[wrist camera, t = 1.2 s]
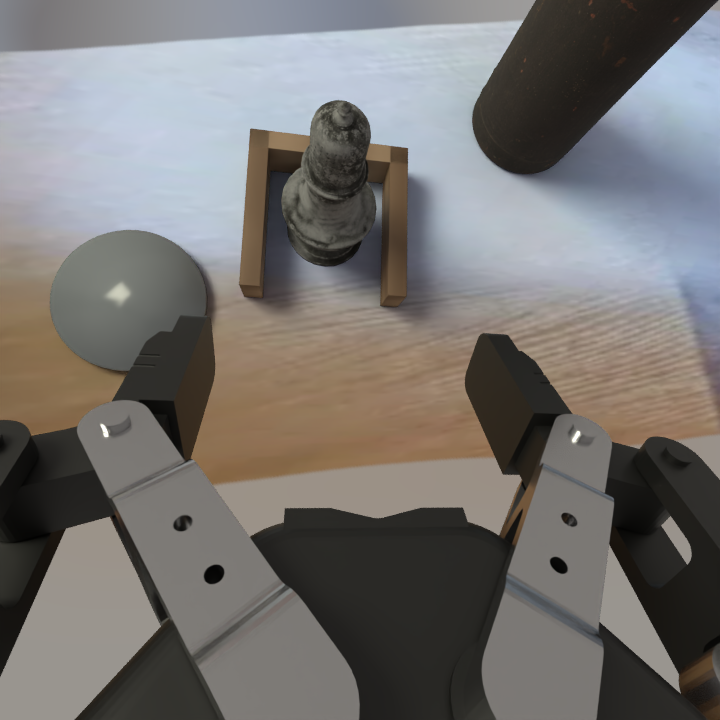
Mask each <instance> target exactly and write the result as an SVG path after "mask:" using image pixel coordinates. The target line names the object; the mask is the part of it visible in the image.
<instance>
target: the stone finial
mask: <svg viewBox="0 0 720 720" xmlns="http://www.w3.org/2000/svg"><path fill="white" fill-rule="evenodd" d="M370 138H371V131H370V125H369V122H368V120H367V118H366V116H365V115H364V114H363V112H362V111H361V110H360V109H359V108H357V107H356V106H355V105H353V104H351V103H349V102H347V101H339V100H336V101H331V102H328V103H326V104H324V105H322V106H321V107H320V108H319V109H318V110H317V111H316V113H315V115H314V117H313V119H312V122H311V128H310V145H309V146H308V147H307V148H306V150H305V152H304V154H303V156H302V162H301V168H299V169H297V170H296V171H295V172H294V173H293V174H292V175H291V176H290V177H289V179H288V181H287V183H286V185H285V186H284V188H283V193H282V198H281V203H282V213H283V216H284V218H285V221H286V223H287V229H288V237H289V240H290V242H291V245H292V247H293V248H294V249H295V251H296V252H297V253H298V254H299V255H300V256H301V257H302V258H304V259H305V260H307V261H309V262H311V263H313V264H316V265H321V266H335V265H338V264H341V263H344V262H345V261H347V260H349V259H350V258H352V256H353V255H354V254H355V253H356V252H357V251H358V249H359V246H360V244H361V242H362V239H363V238H364V237H365V236H366V235H367V234H368V232H369V231H370V229H371V227H372V225H373V223H374V221H375V215H376V201H375V196H374V194H373V191H372V189H371V186H370V185H369V184H368V182H367V180H368V174H369V169H368V162H367V160H366V156H367V152H368V148H369V144H370Z"/></svg>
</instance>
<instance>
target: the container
mask: <svg viewBox="0 0 720 720" xmlns="http://www.w3.org/2000/svg"><path fill="white" fill-rule="evenodd" d="M717 1H718V0H536V1H535V3H534V5H533V6H532V8H531V10H530V11H529V13H528V15H527V17H526V18H525V20H524V21H523V23H522V25H521V26H520V28H519V30H518V31H517V33H516V35H515V37H514V38H513V40H512V42H511V43H510V45H509V47H508V48H507V50H506V52H505V53H504V55H503V57H502V58H501V60H500V62H499V63H498V65H497V67H496V68H495V69H494V71H493V73H492V75H491V77H490V78H489V80H488V82H487V84H486V85H485V87H484V88H483V89H482V92H481V94H480V96H479V98H478V100H477V102H476V104H475V106H474V110H473V117H472V123H473V130H474V134H475V137H476V139H477V142H478V144H479V146H480V147H481V149H482V150H483V152H484V153H485V154H486V155H487V156H488V157H489V158H490V159H491V160H492V161H493V162H495V163H496V164H497V165H499V166H500V167H502V168H504V169H506V170H509V171H512V172H515V173H522V174H532V173H538V172H541V171H544V170H546V169H548V168H550V167H552V166H553V165H555V164H556V163H557V162H558V161H559V160H560V159H561V158H562V157H563V156H564V155H565V154H567V153H568V152H569V151H570V150H571V149H572V148H573V147H574V146H575V145H576V143H577V142H578V141H579V140H580V139H581V138H582V137H583V136H584V135H585V134H586V133H587V132H588V131H589V130H590V129H591V128H592V127H593V126H594V125H595V124H596V123H597V122H598V121H599V120H600V119H601V118H602V117H603V116H604V115H605V114H606V113H607V112H608V110H609V109H610V108H611V107H612V106H613V105H614V104H615V103H616V102H617V101H618V100H619V99H620V98H621V97H622V96H623V95H624V94H625V93H626V92H627V91H628V90H629V89H630V88H631V87H632V86H633V85H634V84H635V83H636V82H637V81H638V80H639V79H640V78H641V77H642V76H643V75H644V74H645V73H646V72H647V71H648V70H649V69H650V68H651V67H652V66H653V65H654V64H655V63H656V62H657V61H658V60H659V59H660V58H661V57H662V56H663V55H664V54H665V53H666V52H667V51H668V50H669V49H670V48H671V47H672V46H673V45H674V44H675V43H676V42H677V41H678V40H679V39H680V38H681V37H682V36H683V35H684V34H685V33H686V32H687V31H688V30H689V29H690V28H691V27H692V26H693V25H694V24H695V23H696V22H697V21H698V20H699V19H700V18H701V17H702V16H703V15H704V14H705V13H706V12H707V11H708V10H709V9H710V8H711V7H712V6H713V5H714V4H715V3H716V2H717Z"/></svg>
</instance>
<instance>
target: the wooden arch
mask: <svg viewBox="0 0 720 720" xmlns="http://www.w3.org/2000/svg"><path fill="white" fill-rule="evenodd" d="M309 145H310V136H306V135H298V134H290V133H282V132H274V131H266V130H258V129H250V140H249V154H248V168H247V182H246V197H245V211H244V225H243V239H242V253H241V267H240V281H239V285H240V288H241V290H242V292H243V295H244V297H258V298H263V285H264V269H265V253H266V237H267V220H268V204H269V188H270V172H271V171H277V172H286V173H294V172H295V171H296V170H297V169H299V168H301V162H302V156H303V154H304V152H305V150H306V148H307V147H308V146H309ZM366 160H367V162H368V169H369V174H368V180H367V182H376V183H383V192H382V245H381V299H380V306H391V307H398V305H399V304H400V303H401V302H402V301H403V300H404V299H405V298H406V296H407V187H408V148H402V147H394V146H386V145H378V144H369V148H368V152H367V156H366Z"/></svg>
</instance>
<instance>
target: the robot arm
mask: <svg viewBox="0 0 720 720" xmlns="http://www.w3.org/2000/svg"><path fill="white" fill-rule="evenodd" d="M214 376H215V355H214V345H213V335H212V325H211V319H210V317H209V316H197V315H180V317H179V319H178V321H177V323H176V325H175V327H174V329H173V331H172V332H167V331H160V332H158V333H157V334H156V335H154V336H153V337H151V338H150V339H149V340H147V341H146V342H145V344H144V346H143V348H142V349H141V351H140V353H139V356H137V358H136V360H135V362H134V363H133V366H132V367H131V369H130V370H129V372H128V374H127V376H126V377H125V379H124V381H123V383H122V384H121V386H120V388H119V390H118V391H117V393H116V395H115V397H114V398H113V400H112V402H109V403H105V404H103V405H100V406H98V407H96V408H94V409H92V410H91V411H90V412H88V413H87V414H86V415H85V416H84V417H83V418H82V419H81V420H80V422H79V424H78V426H77V427H74V428H70V429H65V430H60V431H55V432H50V433H44V434H39V435H34V436H31V434H30V432H29V429H28V428H27V427H26V426H25V425H24V424H22V423H20V422H17V421H11V420H0V676H1V674H2V672H3V669H4V667H5V665H6V663H7V660H8V658H9V656H10V653H11V651H12V649H13V647H14V645H15V642H16V640H17V637H18V635H19V633H20V631H21V629H22V626H23V624H24V622H25V620H26V617H27V615H28V613H29V611H30V608H31V606H32V604H33V602H34V599H35V597H36V595H37V593H38V590H39V588H40V586H41V584H42V581H43V579H44V577H45V574H46V572H47V570H48V567H49V565H50V563H51V561H52V558H53V556H54V554H55V552H56V550H57V547H58V545H59V543H60V540H61V538H62V536H63V534H64V531H65V529H66V528H69V527H73V526H77V525H80V524H84V523H88V522H91V521H95V520H99V519H102V518H106V517H110V518H111V520H112V522H113V525H114V527H115V529H116V531H117V533H118V535H119V537H120V539H121V541H122V543H123V545H124V547H125V549H126V551H127V554H128V556H129V558H130V560H131V562H132V564H133V566H134V568H135V570H136V572H137V574H138V577H139V579H140V581H141V583H142V586H143V588H144V590H145V593H146V595H147V597H148V600H149V602H150V604H151V606H152V608H153V611H154V613H155V615H156V617H157V619H158V621H159V623H160V625H161V627H160V628H159V629H158V631H156V633H155V634H154V635H153V636H152V637H151V638H150V639H149V640H148V641H147V642H146V643H145V644H144V646H143V647H142V648H141V649H140V650H139V651H138V652H137V653H136V654H135V655H134V656H133V657H132V659H131V660H130V661H129V662H128V663H127V664H126V665H125V666H124V667H123V668H122V669H121V670H120V671H119V672H118V674H117V675H116V676H115V677H114V678H113V679H112V680H111V681H110V682H109V683H108V684H107V685H106V687H105V688H104V689H103V690H102V691H101V692H100V693H99V694H98V695H97V696H96V697H95V698H94V699H93V701H92V702H91V703H90V704H89V705H88V706H87V707H86V708H85V709H84V710H83V711H82V712H81V713H80V715H79V716H78V717H77V718H76V719H75V720H720V480H719V478H718V477H717V476H716V475H715V474H714V473H713V472H712V471H711V469H710V468H709V467H708V466H707V465H706V464H705V463H704V461H703V460H702V459H701V458H700V457H699V456H698V455H697V454H696V453H694V452H693V451H692V450H690V449H689V448H688V447H686V446H684V445H682V444H681V443H679V442H676V441H674V440H671V439H668V438H664V437H651V438H648V439H647V440H646V441H645V443H644V444H643V445H642V447H641V448H640V449H637V448H633V447H629V446H626V445H622V444H618V443H614V442H612V441H611V439H610V437H609V435H608V434H607V432H606V431H605V430H604V429H603V428H602V427H600V426H599V425H598V424H596V423H595V422H593V421H591V420H589V419H587V418H585V417H582V416H579V415H575V414H572V413H571V411H570V410H569V409H568V407H567V406H566V404H565V403H564V401H563V400H562V399H561V397H560V396H559V394H558V393H557V392H556V390H555V389H554V387H553V386H552V385H550V382H549V380H548V379H547V377H546V376H545V375H543V372H542V370H541V369H540V367H539V366H538V365H537V363H536V362H535V361H534V360H533V359H531V358H530V357H529V356H527V355H526V354H525V353H524V352H522V351H518V349H517V348H516V346H515V345H514V343H513V342H512V340H511V339H510V337H509V336H508V335H504V334H487V333H483V334H481V335H480V336H479V338H478V340H477V343H476V346H475V349H474V352H473V355H472V357H471V360H470V363H469V366H468V369H467V372H466V376H465V388H466V392H467V395H468V397H469V399H470V401H471V404H472V406H473V408H474V410H475V413H476V415H477V417H478V419H479V422H480V424H481V426H482V428H483V431H484V433H485V435H486V437H487V440H488V442H489V444H490V446H491V449H492V451H493V453H494V455H495V458H496V460H497V462H498V464H499V467H500V469H501V471H502V473H503V474H505V475H506V474H508V475H520V477H521V479H522V481H521V483H520V484H519V486H518V488H517V491H516V493H515V496H514V499H513V501H512V504H511V506H510V509H509V511H508V514H507V517H506V520H505V522H504V525H503V527H502V530H501V533H500V535H497V534H495V533H494V532H492V531H490V530H488V529H485V528H483V527H481V526H478V525H475V524H473V523H469V522H467V519H466V516H465V513H464V510H463V508H419V509H415V510H411V511H407V512H403V513H400V514H396V515H392V516H388V517H384V518H379V519H378V518H371V517H366V516H362V515H358V514H354V513H349V512H345V511H340V510H336V509H332V508H290V509H289V508H287V509H285V515H284V523H281V524H277V525H274V526H271V527H269V528H266V529H263V530H262V531H260V532H258V533H256V534H254V535H252V536H251V537H249V536H248V534H247V533H246V532H245V530H244V529H243V527H242V526H241V525H240V523H239V522H238V520H237V519H236V517H235V516H234V515H233V513H232V512H231V510H230V509H229V508H228V506H227V505H226V503H225V502H224V501H223V499H222V498H221V496H220V495H219V494H218V492H217V491H216V489H215V488H214V487H213V485H212V484H211V482H210V481H209V480H208V478H207V477H206V475H205V474H204V473H203V471H202V470H201V468H200V467H199V466H198V464H197V463H196V462H195V461H194V460H193V459H190V458H191V455H192V452H193V448H194V445H195V442H196V438H197V435H198V432H199V428H200V425H201V422H202V418H203V415H204V412H205V408H206V405H207V402H208V398H209V395H210V392H211V388H212V385H213V381H214ZM670 516H671V517H672V518H673V520H674V521H675V522H676V524H677V525H678V527H679V528H680V530H681V531H682V533H683V534H684V535H685V537H686V538H687V540H688V542H689V544H690V546H691V551H692V557H691V561H690V562H689V564H688V565H687V564H686V562H685V561H684V559H683V558H682V556H681V555H680V553H679V552H678V551H677V549H676V547H675V546H674V544H673V543H672V541H671V540H670V538H669V537H668V535H667V534H666V532H665V531H664V529H663V528H662V527H661V525H662V524H663V523H664V522H665V521H666V520H667V519H668V518H669V517H670ZM609 545H610V546H611V548H612V550H613V552H614V554H615V556H616V558H617V559H618V561H619V563H620V565H621V567H622V569H623V571H624V573H625V574H626V576H627V578H628V580H629V582H630V584H631V585H632V587H633V589H634V591H635V593H636V595H637V597H638V599H639V601H640V602H641V604H642V606H643V608H644V610H645V612H646V614H647V615H648V617H649V619H650V621H651V623H652V625H653V627H654V628H655V630H656V632H657V634H658V636H659V638H660V640H661V641H662V643H663V645H664V647H665V649H666V651H667V653H668V655H669V656H670V658H671V660H672V662H673V664H674V665H675V668H676V669H677V671H678V673H679V687H680V692H681V694H680V693H679V692H678V691H677V690H676V689H674V688H673V687H672V686H671V685H670V684H669V683H668V682H667V681H666V680H664V679H663V678H662V677H661V676H660V675H659V674H658V673H656V672H655V671H654V670H653V669H652V668H651V667H650V666H649V665H647V664H646V663H645V662H644V661H643V660H642V659H641V658H640V657H638V656H637V655H636V654H635V653H634V652H633V651H632V650H631V649H629V648H628V647H627V646H626V645H625V644H624V643H623V642H621V641H620V640H619V639H618V638H617V637H616V636H615V635H614V634H612V633H611V632H610V631H609V630H608V629H606V627H605V626H603V625H602V624H601V623H600V622H599V619H600V611H601V603H602V595H603V588H604V579H605V572H606V564H607V556H608V548H609Z"/></svg>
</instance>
